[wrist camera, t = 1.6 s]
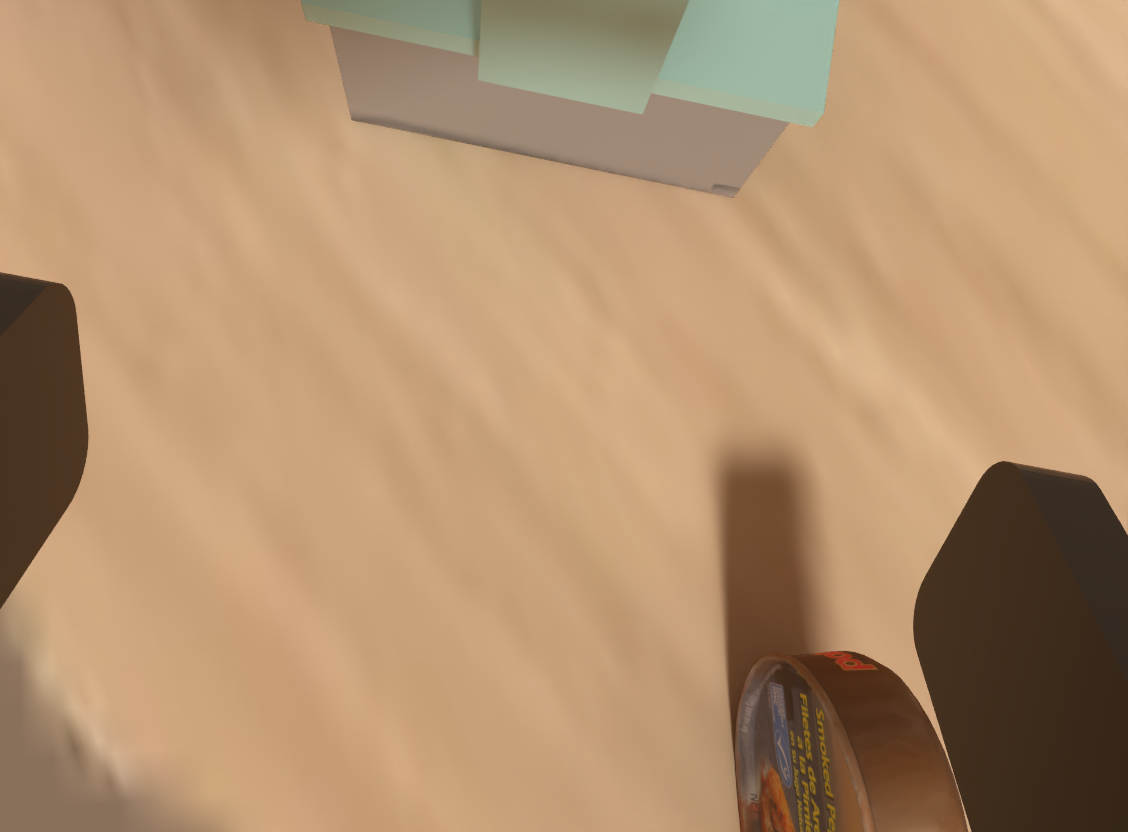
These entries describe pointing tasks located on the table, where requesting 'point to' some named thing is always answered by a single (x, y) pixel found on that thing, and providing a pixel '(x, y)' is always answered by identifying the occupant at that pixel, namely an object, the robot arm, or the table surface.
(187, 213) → the table surface
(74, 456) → the robot arm
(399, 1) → the lid
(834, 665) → the tin
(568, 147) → the tub
